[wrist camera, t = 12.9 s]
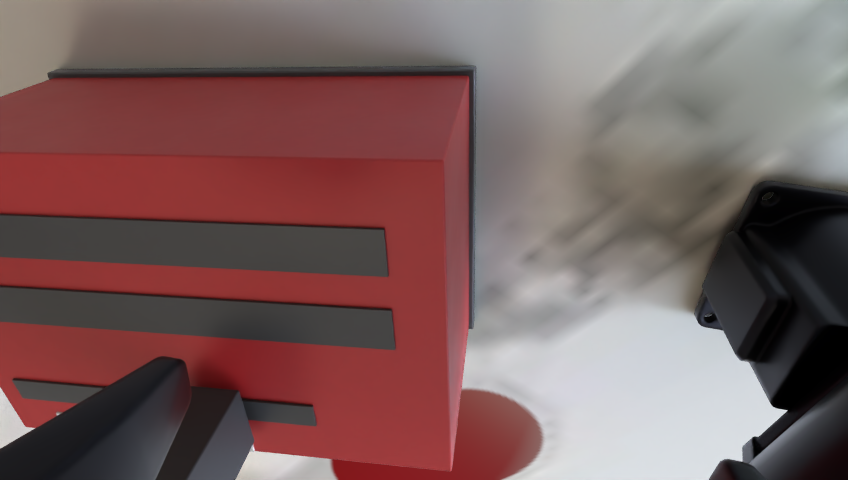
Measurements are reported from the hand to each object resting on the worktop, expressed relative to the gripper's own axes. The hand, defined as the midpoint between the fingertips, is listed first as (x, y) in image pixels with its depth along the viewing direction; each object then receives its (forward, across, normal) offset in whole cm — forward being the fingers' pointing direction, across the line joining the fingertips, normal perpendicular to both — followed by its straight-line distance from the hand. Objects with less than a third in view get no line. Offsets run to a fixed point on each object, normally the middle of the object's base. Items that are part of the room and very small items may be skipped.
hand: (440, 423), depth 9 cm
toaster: (+13, +8, +4) cm, 16 cm away
